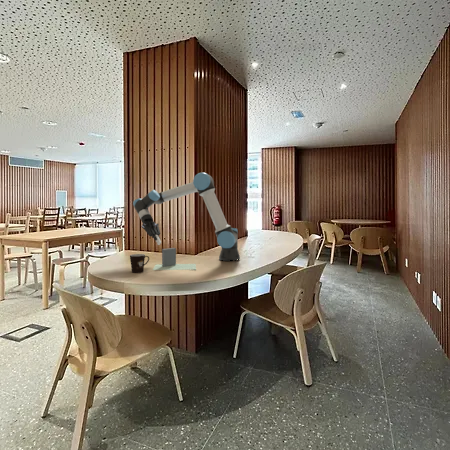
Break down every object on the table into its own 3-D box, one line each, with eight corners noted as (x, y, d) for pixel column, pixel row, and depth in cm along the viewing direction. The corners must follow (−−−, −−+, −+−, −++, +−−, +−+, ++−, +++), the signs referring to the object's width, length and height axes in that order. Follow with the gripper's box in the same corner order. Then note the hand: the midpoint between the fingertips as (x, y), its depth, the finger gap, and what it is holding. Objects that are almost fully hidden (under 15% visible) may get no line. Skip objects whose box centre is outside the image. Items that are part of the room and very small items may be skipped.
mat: (195, 264, 207) (195, 263, 207) (196, 270, 189) (196, 269, 189) (155, 265, 204) (155, 264, 204) (152, 271, 186) (152, 270, 186)
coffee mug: (130, 273, 178) (130, 256, 178) (129, 271, 186) (129, 254, 186) (151, 272, 183) (151, 255, 182) (149, 269, 191) (149, 253, 190)
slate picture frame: (161, 266, 198) (161, 249, 197) (173, 264, 204) (173, 247, 204) (164, 266, 196) (164, 249, 195) (175, 264, 202) (175, 248, 202)
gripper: (151, 220, 223) (165, 246, 212) (135, 221, 213) (149, 248, 203) (155, 213, 219) (170, 239, 208) (139, 213, 209) (153, 240, 199)
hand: (159, 243), depth 206 cm, fingers closed
